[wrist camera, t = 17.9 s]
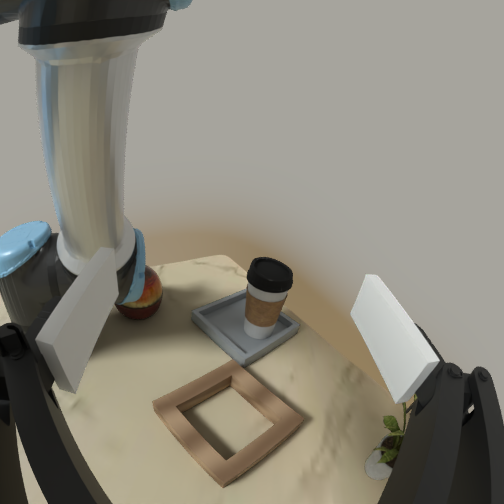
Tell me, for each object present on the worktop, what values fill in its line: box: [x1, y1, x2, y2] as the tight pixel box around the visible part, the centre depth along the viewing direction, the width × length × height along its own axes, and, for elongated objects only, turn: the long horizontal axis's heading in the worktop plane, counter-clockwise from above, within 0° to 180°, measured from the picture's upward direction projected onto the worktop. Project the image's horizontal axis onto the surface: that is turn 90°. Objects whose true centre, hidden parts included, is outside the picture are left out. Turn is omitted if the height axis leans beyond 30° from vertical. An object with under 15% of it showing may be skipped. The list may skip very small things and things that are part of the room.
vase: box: [115, 265, 163, 319], centre depth 53 cm, size 11×11×15 cm
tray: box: [191, 288, 300, 368], centre depth 57 cm, size 16×16×2 cm
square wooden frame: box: [152, 360, 304, 488], centre depth 36 cm, size 16×16×3 cm
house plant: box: [365, 394, 417, 480], centre depth 27 cm, size 14×14×16 cm
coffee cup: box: [244, 257, 293, 339], centre depth 53 cm, size 8×8×15 cm
